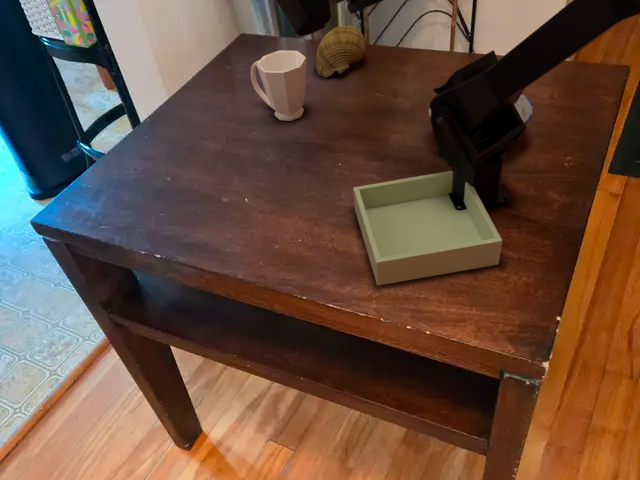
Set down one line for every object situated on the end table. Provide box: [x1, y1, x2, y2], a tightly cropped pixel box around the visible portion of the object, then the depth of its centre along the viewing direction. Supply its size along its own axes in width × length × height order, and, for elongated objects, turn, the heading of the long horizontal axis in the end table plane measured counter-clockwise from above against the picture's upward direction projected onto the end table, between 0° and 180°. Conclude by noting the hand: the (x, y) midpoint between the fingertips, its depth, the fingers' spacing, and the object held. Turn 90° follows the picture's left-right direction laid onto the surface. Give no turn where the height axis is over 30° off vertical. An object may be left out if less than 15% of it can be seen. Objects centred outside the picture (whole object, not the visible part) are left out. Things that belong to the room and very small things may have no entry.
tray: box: [353, 170, 503, 286], centre depth 67 cm, size 13×13×3 cm
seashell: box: [315, 25, 367, 79], centre depth 97 cm, size 10×7×8 cm
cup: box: [250, 49, 307, 122], centre depth 87 cm, size 7×10×8 cm
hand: (323, 22), depth 77 cm, fingers open, 9 cm apart
